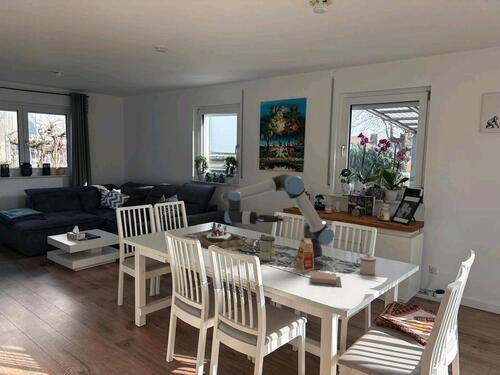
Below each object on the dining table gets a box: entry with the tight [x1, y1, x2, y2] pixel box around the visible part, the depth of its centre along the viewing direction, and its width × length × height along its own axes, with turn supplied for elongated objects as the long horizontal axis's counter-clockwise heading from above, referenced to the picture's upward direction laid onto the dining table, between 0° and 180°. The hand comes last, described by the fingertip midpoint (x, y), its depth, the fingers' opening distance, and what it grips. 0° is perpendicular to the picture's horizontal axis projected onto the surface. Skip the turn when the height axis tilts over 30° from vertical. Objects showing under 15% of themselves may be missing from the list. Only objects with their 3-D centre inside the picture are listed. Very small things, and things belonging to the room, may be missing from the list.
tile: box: [310, 271, 337, 284], centre depth 211 cm, size 3×10×14 cm
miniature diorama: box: [205, 220, 233, 243], centre depth 290 cm, size 20×20×17 cm
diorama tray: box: [196, 231, 246, 249], centre depth 291 cm, size 28×28×4 cm
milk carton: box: [294, 236, 315, 272], centre depth 232 cm, size 9×9×20 cm
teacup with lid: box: [356, 253, 377, 275], centre depth 228 cm, size 12×9×12 cm
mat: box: [311, 276, 342, 288], centre depth 211 cm, size 16×15×1 cm
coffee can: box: [259, 235, 276, 262], centre depth 251 cm, size 10×10×14 cm
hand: (289, 219), depth 224 cm, fingers closed
